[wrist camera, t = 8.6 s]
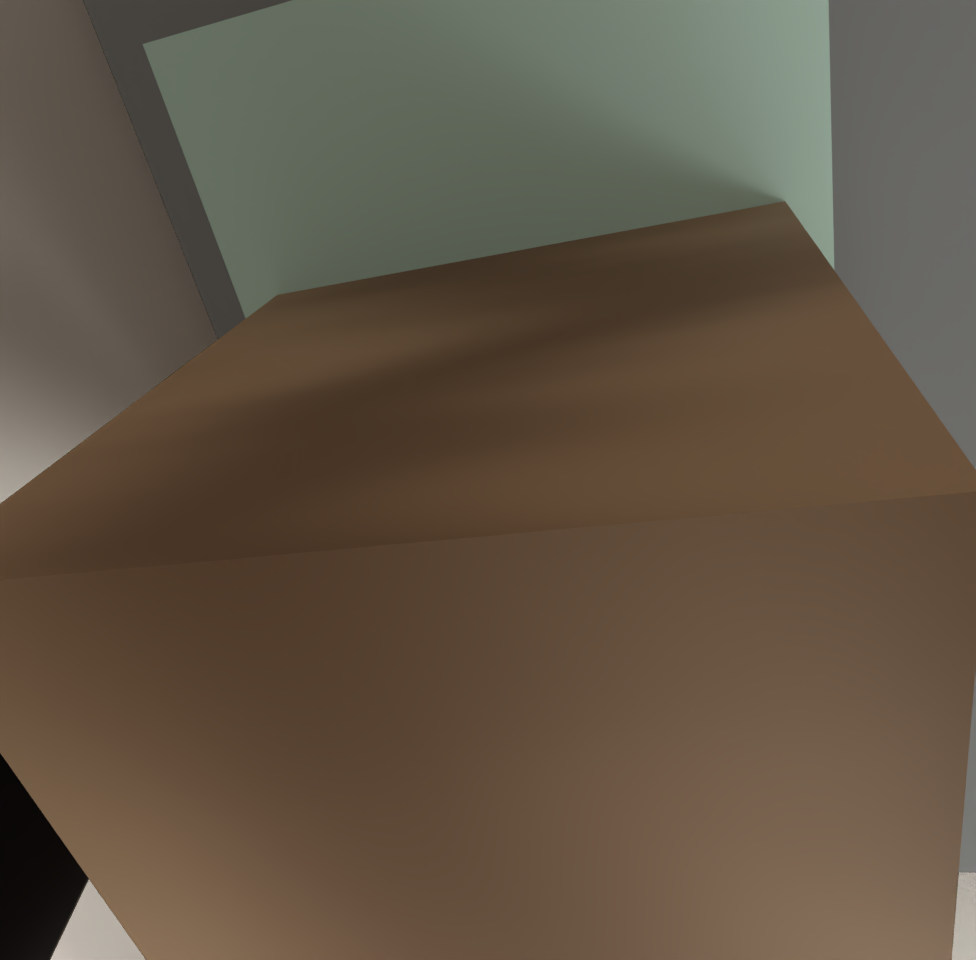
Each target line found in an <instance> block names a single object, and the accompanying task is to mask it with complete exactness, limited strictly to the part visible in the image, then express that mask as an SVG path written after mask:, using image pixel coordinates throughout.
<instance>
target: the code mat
mask: <svg viewBox="0 0 976 960" xmlns="http://www.w3.org/2000/svg"><path fill="white" fill-rule="evenodd" d="M83 1H84V4H85V6H86V9H87V11H88V14H89V16H90V19H91V21H92V24H93V26H94V29H95V31H96V34H97V37H98V39H99V42H100V44H101V47H102V49H103V52H104V54H105V57H106V59H107V62H108V64H109V67H110V69H111V72H112V74H113V77H114V79H115V82H116V84H117V87H118V89H119V92H120V94H121V97H122V99H123V102H124V104H125V107H126V110H127V112H128V115H129V117H130V120H131V122H132V125H133V127H134V130H135V132H136V135H137V137H138V140H139V142H140V145H141V147H142V150H143V152H144V155H145V157H146V160H147V162H148V165H149V167H150V170H151V172H152V175H153V177H154V180H155V183H156V185H157V188H158V190H159V193H160V195H161V198H162V200H163V203H164V205H165V208H166V210H167V213H168V215H169V218H170V220H171V223H172V225H173V228H174V230H175V233H176V235H177V238H178V240H179V243H180V245H181V248H182V250H183V253H184V256H185V258H186V261H187V263H188V266H189V268H190V271H191V273H192V276H193V278H194V281H195V283H196V286H197V288H198V291H199V293H200V296H201V298H202V301H203V303H204V306H205V308H206V311H207V313H208V316H209V318H210V321H211V323H212V326H213V328H214V331H215V334H216V336H217V339H219V338H221V337H222V336H223V335H225V334H226V333H227V332H229V331H230V330H231V329H233V328H234V327H235V326H237V325H238V324H239V323H241V322H242V321H243V320H245V319H246V318H247V317H249V316H250V315H251V314H253V313H254V312H255V311H257V310H258V309H259V308H261V307H262V306H263V305H265V304H266V303H267V302H268V301H270V300H271V299H272V298H274V297H275V296H276V295H280V294H285V293H290V292H296V291H301V290H307V289H312V288H318V287H323V286H328V285H334V284H339V283H345V282H350V281H356V280H361V279H366V278H372V277H377V276H383V275H388V274H394V273H399V272H404V271H410V270H415V269H421V268H426V267H432V266H437V265H442V264H448V263H453V262H459V261H464V260H470V259H475V258H480V257H486V256H491V255H497V254H502V253H508V252H513V251H518V250H524V249H529V248H535V247H540V246H545V245H551V244H556V243H562V242H567V241H573V240H578V239H583V238H589V237H594V236H600V235H605V234H611V233H616V232H621V231H627V230H632V229H638V228H643V227H649V226H654V225H659V224H665V223H670V222H676V221H681V220H687V219H692V218H697V217H703V216H708V215H714V214H719V213H725V212H730V211H735V210H741V209H746V208H752V207H757V206H763V205H768V204H773V203H779V202H784V201H786V203H787V204H788V206H789V207H790V208H791V210H792V211H793V213H794V214H795V215H796V217H797V218H798V220H799V221H800V223H801V224H802V225H803V227H804V228H805V230H806V231H807V232H808V234H809V235H810V237H811V238H812V239H813V241H814V242H815V244H816V245H817V247H818V248H819V249H820V251H821V252H822V254H823V255H824V256H825V258H826V259H827V261H828V262H829V263H830V265H831V266H832V268H833V269H834V271H835V272H836V273H837V275H838V276H839V278H840V279H841V280H842V282H843V283H844V285H845V286H846V287H847V289H848V290H849V292H850V293H851V295H852V296H853V297H854V299H855V300H856V302H857V303H858V304H859V306H860V307H861V309H862V310H863V311H864V313H865V314H866V316H867V317H868V319H869V320H870V321H871V323H872V324H873V326H874V327H875V328H876V330H877V331H878V333H879V334H880V335H881V337H882V338H883V340H884V341H885V343H886V344H887V345H888V347H889V348H890V350H891V351H892V352H893V354H894V355H895V357H896V358H897V359H898V361H899V362H900V364H901V365H902V367H903V368H904V369H905V371H906V372H907V374H908V375H909V376H910V378H911V379H912V381H913V382H914V383H915V385H916V386H917V388H918V389H919V391H920V392H921V393H922V395H923V396H924V398H925V399H926V400H927V402H928V403H929V405H930V406H931V407H932V409H933V410H934V412H935V413H936V414H937V416H938V417H939V419H940V420H941V422H942V423H943V424H944V426H945V427H946V429H947V430H948V431H949V433H950V434H951V436H952V437H953V438H954V440H955V441H956V443H957V444H958V446H959V447H960V448H961V450H962V451H963V453H964V454H965V455H966V457H967V458H968V460H969V461H970V462H971V464H972V465H973V467H974V468H975V470H976V0H83ZM959 872H976V669H975V681H974V693H973V705H972V717H971V729H970V741H969V754H968V766H967V778H966V790H965V802H964V814H963V826H962V838H961V850H960V862H959Z"/></svg>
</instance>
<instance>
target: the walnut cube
mask: <svg viewBox="0 0 976 960" xmlns="http://www.w3.org/2000/svg"><path fill="white" fill-rule="evenodd" d="M975 669H976V470H975V468H974V467H973V465H972V464H971V462H970V461H969V460H968V458H967V457H966V455H965V454H964V453H963V451H962V450H961V448H960V447H959V446H958V444H957V443H956V441H955V440H954V438H953V437H952V436H951V434H950V433H949V431H948V430H947V429H946V427H945V426H944V424H943V423H942V422H941V420H940V419H939V417H938V416H937V414H936V413H935V412H934V410H933V409H932V407H931V406H930V405H929V403H928V402H927V400H926V399H925V398H924V396H923V395H922V393H921V392H920V391H919V389H918V388H917V386H916V385H915V383H914V382H913V381H912V379H911V378H910V376H909V375H908V374H907V372H906V371H905V369H904V368H903V367H902V365H901V364H900V362H899V361H898V359H897V358H896V357H895V355H894V354H893V352H892V351H891V350H890V348H889V347H888V345H887V344H886V343H885V341H884V340H883V338H882V337H881V335H880V334H879V333H878V331H877V330H876V328H875V327H874V326H873V324H872V323H871V321H870V320H869V319H868V317H867V316H866V314H865V313H864V311H863V310H862V309H861V307H860V306H859V304H858V303H857V302H856V300H855V299H854V297H853V296H852V295H851V293H850V292H849V290H848V289H847V287H846V286H845V285H844V283H843V282H842V280H841V279H840V278H839V276H838V275H837V273H836V272H835V271H834V269H833V268H832V266H831V265H830V263H829V262H828V261H827V259H826V258H825V256H824V255H823V254H822V252H821V251H820V249H819V248H818V247H817V245H816V244H815V242H814V241H813V239H812V238H811V237H810V235H809V234H808V232H807V231H806V230H805V228H804V227H803V225H802V224H801V223H800V221H799V220H798V218H797V217H796V215H795V214H794V213H793V211H792V210H791V208H790V207H789V206H788V204H787V203H786V201H784V202H779V203H773V204H768V205H763V206H757V207H752V208H746V209H741V210H735V211H730V212H725V213H719V214H714V215H708V216H703V217H697V218H692V219H687V220H681V221H676V222H670V223H665V224H659V225H654V226H649V227H643V228H638V229H632V230H627V231H621V232H616V233H611V234H605V235H600V236H594V237H589V238H583V239H578V240H573V241H567V242H562V243H556V244H551V245H545V246H540V247H535V248H529V249H524V250H518V251H513V252H508V253H502V254H497V255H491V256H486V257H480V258H475V259H470V260H464V261H459V262H453V263H448V264H442V265H437V266H432V267H426V268H421V269H415V270H410V271H404V272H399V273H394V274H388V275H383V276H377V277H372V278H366V279H361V280H356V281H350V282H345V283H339V284H334V285H328V286H323V287H318V288H312V289H307V290H301V291H296V292H290V293H285V294H280V295H276V296H275V297H274V298H272V299H271V300H270V301H268V302H267V303H266V304H265V305H263V306H262V307H261V308H259V309H258V310H257V311H255V312H254V313H253V314H251V315H250V316H249V317H247V318H246V319H245V320H243V321H242V322H241V323H239V324H238V325H237V326H235V327H234V328H233V329H231V330H230V331H229V332H227V333H226V334H225V335H223V336H222V337H221V338H219V339H218V340H217V341H215V342H214V343H213V344H212V345H210V346H209V347H208V348H206V349H205V350H204V351H202V352H201V353H200V354H198V355H197V356H196V357H194V358H193V359H192V360H190V361H189V362H188V363H186V364H185V365H184V366H182V367H181V368H180V369H178V370H177V371H176V372H174V373H173V374H172V375H170V376H169V377H168V378H166V379H165V380H164V381H162V382H161V383H160V384H159V385H157V386H156V387H155V388H153V389H152V390H151V391H149V392H148V393H147V394H145V395H144V396H143V397H141V398H140V399H139V400H137V401H136V402H135V403H133V404H132V405H131V406H129V407H128V408H127V409H125V410H124V411H123V412H121V413H120V414H119V415H117V416H116V417H115V418H113V419H112V420H111V421H109V422H108V423H107V424H106V425H104V426H103V427H102V428H100V429H99V430H98V431H96V432H95V433H94V434H92V435H91V436H90V437H88V438H87V439H86V440H84V441H83V442H82V443H80V444H79V445H78V446H76V447H75V448H74V449H72V450H71V451H70V452H68V453H67V454H66V455H64V456H63V457H62V458H60V459H59V460H58V461H56V462H55V463H54V464H53V465H51V466H50V467H49V468H47V469H46V470H45V471H43V472H42V473H41V474H39V475H38V476H37V477H35V478H34V479H33V480H31V481H30V482H29V483H27V484H26V485H25V486H23V487H22V488H21V489H19V490H18V491H17V492H15V493H14V494H13V495H11V496H10V497H9V498H7V499H6V500H5V501H3V502H2V503H1V504H0V753H1V755H2V756H3V758H4V759H5V760H6V762H7V763H8V765H9V766H10V767H11V769H12V770H13V772H14V773H15V775H16V776H17V777H18V779H19V780H20V782H21V783H22V784H23V786H24V787H25V789H26V790H27V792H28V793H29V794H30V796H31V797H32V799H33V800H34V802H35V803H36V804H37V806H38V807H39V809H40V810H41V811H42V813H43V814H44V816H45V817H46V819H47V820H48V821H49V823H50V824H51V826H52V827H53V828H54V830H55V831H56V833H57V834H58V836H59V837H60V838H61V840H62V841H63V843H64V844H65V846H66V847H67V848H68V850H69V851H70V853H71V854H72V855H73V857H74V858H75V860H76V861H77V863H78V864H79V865H80V867H81V868H82V870H83V871H84V872H85V874H86V875H87V877H88V878H89V880H90V881H91V882H92V884H93V885H94V887H95V888H96V890H97V891H98V892H99V894H100V895H101V897H102V898H103V899H104V901H105V902H106V904H107V905H108V907H109V908H110V909H111V911H112V912H113V914H114V915H115V916H116V918H117V919H118V921H119V922H120V924H121V925H122V926H123V928H124V929H125V931H126V932H127V934H128V935H129V936H130V938H131V939H132V941H133V942H134V943H135V945H136V946H137V948H138V949H139V951H140V952H141V953H142V955H143V956H144V958H145V959H146V960H951V959H952V947H953V935H954V923H955V911H956V899H957V887H958V875H959V862H960V850H961V838H962V826H963V814H964V802H965V790H966V778H967V766H968V754H969V741H970V729H971V717H972V705H973V693H974V681H975Z"/></svg>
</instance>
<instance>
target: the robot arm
mask: <svg viewBox="0 0 976 960" xmlns="http://www.w3.org/2000/svg"><path fill="white" fill-rule="evenodd" d="M88 880H89V878H88V877H87V875H86V874H85V872H84V871H83V870H82V868H81V867H80V865H79V864H78V863H77V861H76V860H75V858H74V857H73V855H72V854H71V853H70V851H69V850H68V848H67V847H66V846H65V844H64V843H63V841H62V840H61V838H60V837H59V836H58V834H57V833H56V831H55V830H54V828H53V827H52V826H51V824H50V823H49V821H48V820H47V819H46V817H45V816H44V814H43V813H42V811H41V810H40V809H39V807H38V806H37V804H36V803H35V802H34V800H33V799H32V797H31V796H30V794H29V793H28V792H27V790H26V789H25V787H24V786H23V784H22V783H21V782H20V780H19V779H18V777H17V776H16V775H15V773H14V772H13V770H12V769H11V767H10V766H9V765H8V763H7V762H6V760H5V759H4V758H3V756H2V755H1V753H0V960H50V959H51V957H52V955H53V953H54V951H55V949H56V947H57V945H58V942H59V940H60V938H61V936H62V934H63V932H64V930H65V928H66V926H67V924H68V922H69V919H70V917H71V915H72V913H73V911H74V909H75V907H76V905H77V903H78V901H79V899H80V897H81V894H82V892H83V890H84V888H85V886H86V884H87V882H88Z"/></svg>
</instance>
